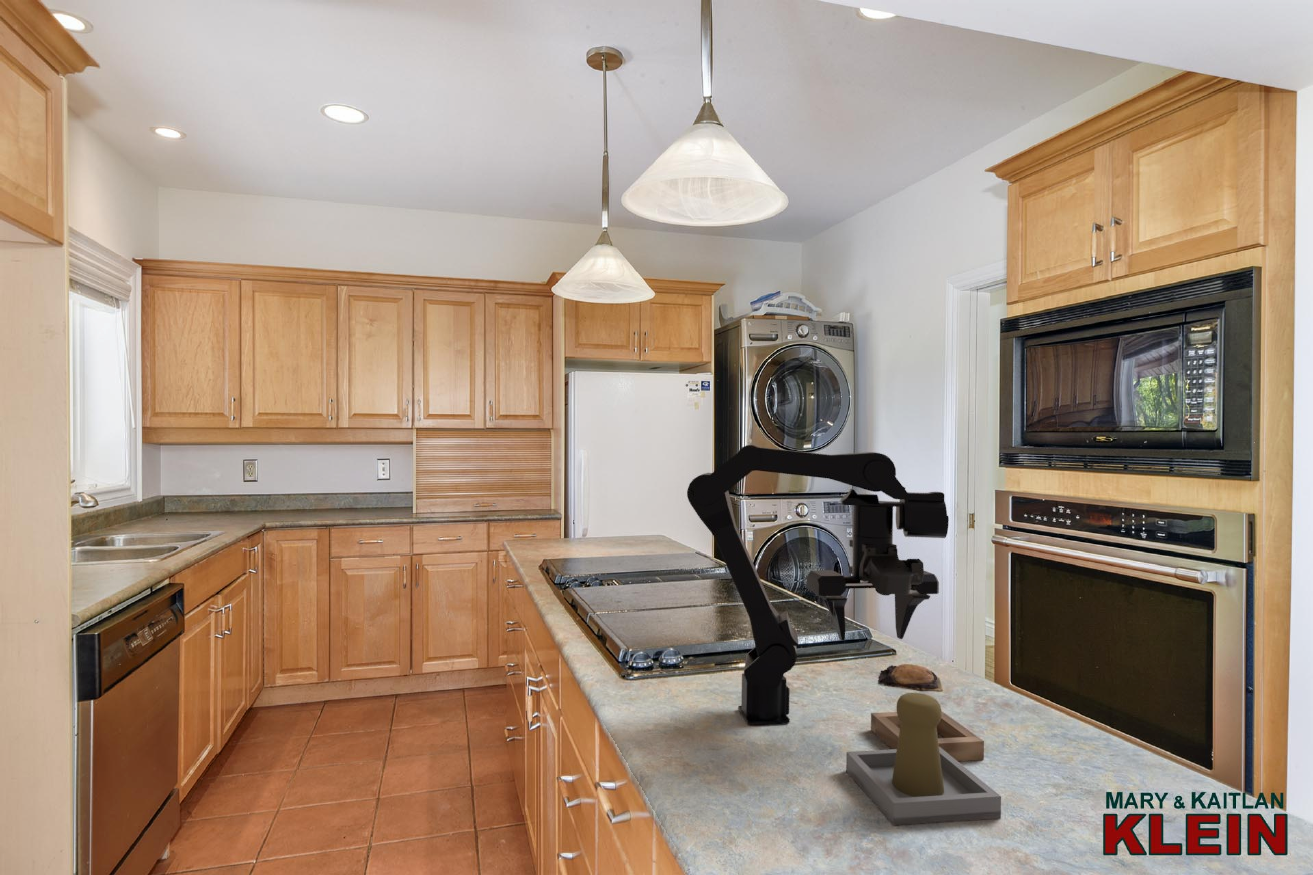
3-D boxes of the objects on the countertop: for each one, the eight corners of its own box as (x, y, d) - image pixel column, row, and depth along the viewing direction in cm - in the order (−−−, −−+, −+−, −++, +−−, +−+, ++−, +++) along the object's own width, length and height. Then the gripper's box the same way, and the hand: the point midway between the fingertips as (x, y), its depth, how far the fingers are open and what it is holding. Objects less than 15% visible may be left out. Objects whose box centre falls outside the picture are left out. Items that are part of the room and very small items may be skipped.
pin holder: (907, 763, 95) (907, 744, 95) (870, 729, 105) (871, 712, 105) (983, 759, 96) (984, 741, 96) (939, 726, 107) (940, 709, 107)
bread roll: (940, 681, 129) (940, 660, 129) (943, 696, 121) (944, 675, 121) (878, 673, 133) (879, 653, 133) (878, 688, 125) (878, 667, 125)
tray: (893, 825, 79) (894, 802, 79) (846, 770, 92) (846, 751, 92) (1000, 817, 81) (1001, 796, 81) (939, 765, 94) (939, 746, 94)
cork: (949, 800, 83) (950, 707, 83) (895, 795, 84) (896, 703, 84) (938, 776, 89) (939, 689, 89) (888, 771, 90) (889, 685, 90)
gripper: (834, 544, 98) (832, 657, 98) (960, 543, 100) (958, 653, 100) (805, 533, 109) (804, 635, 109) (920, 532, 111) (918, 631, 111)
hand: (871, 639), depth 107 cm, fingers open, 9 cm apart
